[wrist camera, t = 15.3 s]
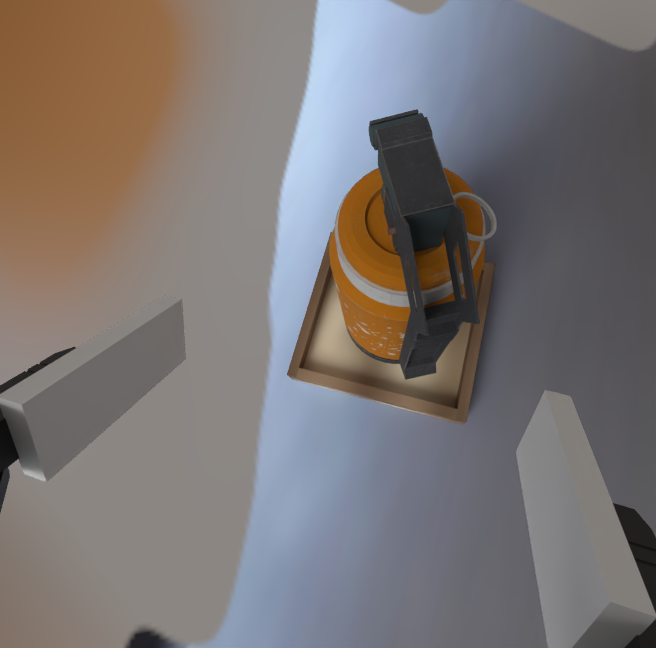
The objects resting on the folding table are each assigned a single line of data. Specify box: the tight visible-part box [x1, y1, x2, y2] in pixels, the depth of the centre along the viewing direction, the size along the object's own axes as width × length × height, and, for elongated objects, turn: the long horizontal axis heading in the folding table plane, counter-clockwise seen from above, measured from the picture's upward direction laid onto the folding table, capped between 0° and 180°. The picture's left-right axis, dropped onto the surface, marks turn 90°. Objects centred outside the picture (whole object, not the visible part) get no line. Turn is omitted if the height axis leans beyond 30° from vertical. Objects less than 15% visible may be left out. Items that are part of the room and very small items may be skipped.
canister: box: [329, 109, 497, 380], centre depth 26 cm, size 9×11×20 cm
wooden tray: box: [287, 232, 495, 424], centre depth 35 cm, size 15×14×2 cm
